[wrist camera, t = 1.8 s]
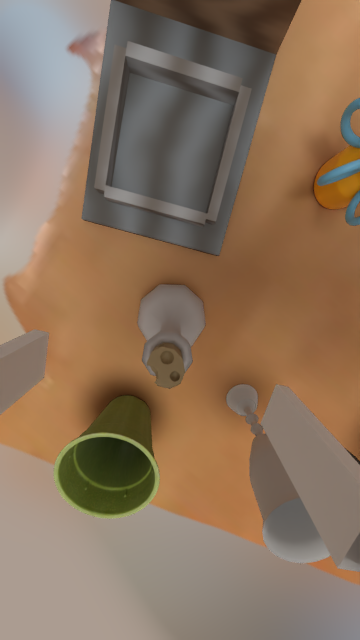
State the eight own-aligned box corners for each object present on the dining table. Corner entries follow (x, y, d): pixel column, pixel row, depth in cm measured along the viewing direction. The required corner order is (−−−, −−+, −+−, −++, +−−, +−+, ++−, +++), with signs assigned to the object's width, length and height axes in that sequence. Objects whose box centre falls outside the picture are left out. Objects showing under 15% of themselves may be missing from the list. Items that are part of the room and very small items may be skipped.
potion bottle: (161, 351, 33) (143, 447, 15) (131, 299, 31) (69, 343, 13) (214, 324, 32) (257, 395, 14) (185, 269, 30) (195, 274, 13)
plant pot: (179, 419, 36) (180, 487, 25) (124, 455, 37) (101, 533, 26) (133, 366, 33) (112, 414, 22) (76, 406, 35) (30, 470, 24)
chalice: (211, 393, 35) (245, 522, 17) (248, 369, 34) (323, 482, 16) (236, 425, 36) (290, 574, 19) (272, 403, 35) (364, 540, 18)
